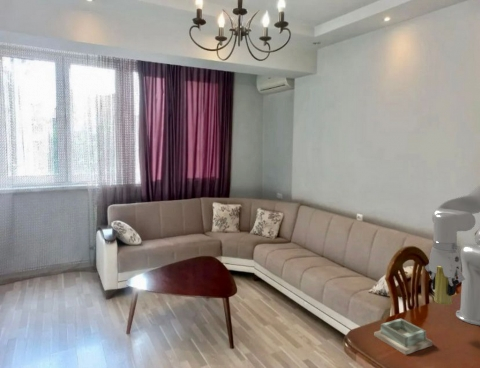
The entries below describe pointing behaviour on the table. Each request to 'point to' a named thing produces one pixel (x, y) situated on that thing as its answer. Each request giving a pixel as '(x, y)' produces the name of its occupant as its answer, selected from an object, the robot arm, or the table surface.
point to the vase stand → (403, 336)
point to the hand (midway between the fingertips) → (443, 291)
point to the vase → (442, 288)
